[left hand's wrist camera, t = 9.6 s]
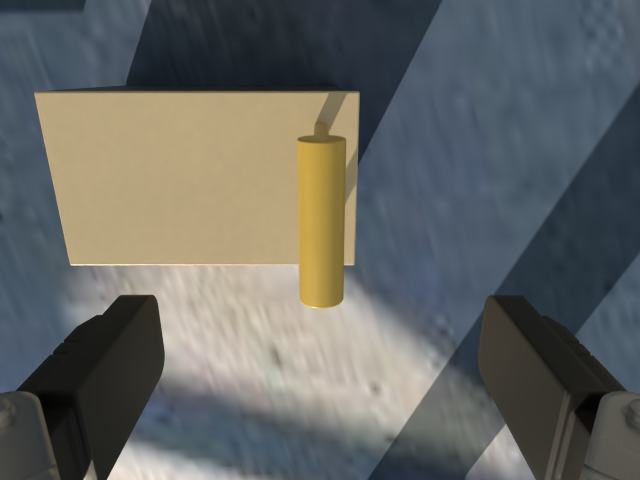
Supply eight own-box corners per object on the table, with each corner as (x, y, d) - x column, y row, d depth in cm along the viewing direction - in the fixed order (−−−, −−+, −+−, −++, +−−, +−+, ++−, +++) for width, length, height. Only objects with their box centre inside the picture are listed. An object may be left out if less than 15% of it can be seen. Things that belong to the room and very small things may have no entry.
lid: (358, 90, 25) (378, 100, 16) (353, 258, 28) (368, 338, 20) (44, 90, 24) (-99, 100, 16) (78, 259, 28) (-26, 339, 20)
